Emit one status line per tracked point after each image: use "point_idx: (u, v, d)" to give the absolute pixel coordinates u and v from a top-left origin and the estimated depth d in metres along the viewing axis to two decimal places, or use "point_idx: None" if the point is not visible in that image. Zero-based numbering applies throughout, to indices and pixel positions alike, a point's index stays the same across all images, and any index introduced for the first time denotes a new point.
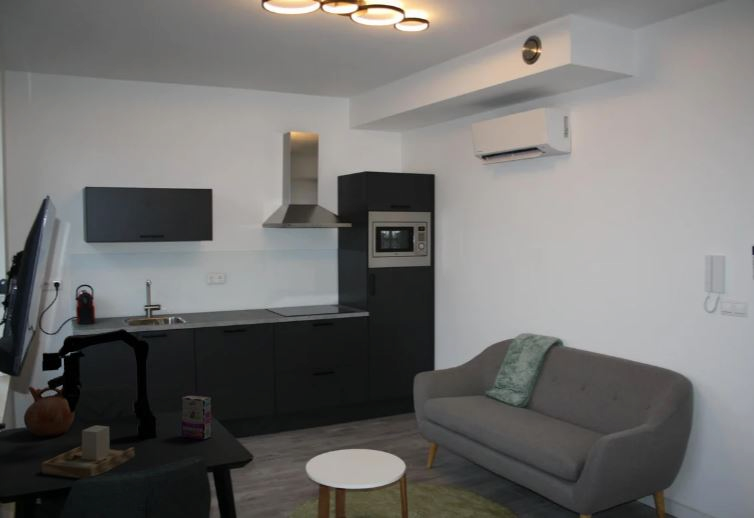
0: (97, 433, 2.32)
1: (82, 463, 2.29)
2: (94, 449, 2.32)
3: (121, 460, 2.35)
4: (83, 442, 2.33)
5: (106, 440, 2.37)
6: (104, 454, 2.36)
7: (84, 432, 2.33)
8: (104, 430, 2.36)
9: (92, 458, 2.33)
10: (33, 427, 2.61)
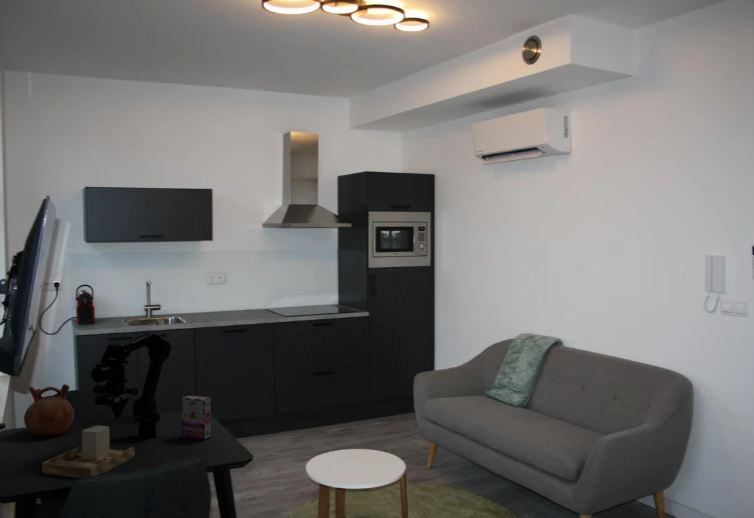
0: (97, 433, 2.32)
1: (82, 463, 2.29)
2: (94, 449, 2.32)
3: (121, 460, 2.35)
4: (83, 442, 2.33)
5: (106, 440, 2.37)
6: (104, 454, 2.36)
7: (84, 432, 2.33)
8: (104, 430, 2.36)
9: (92, 458, 2.33)
10: (33, 427, 2.61)
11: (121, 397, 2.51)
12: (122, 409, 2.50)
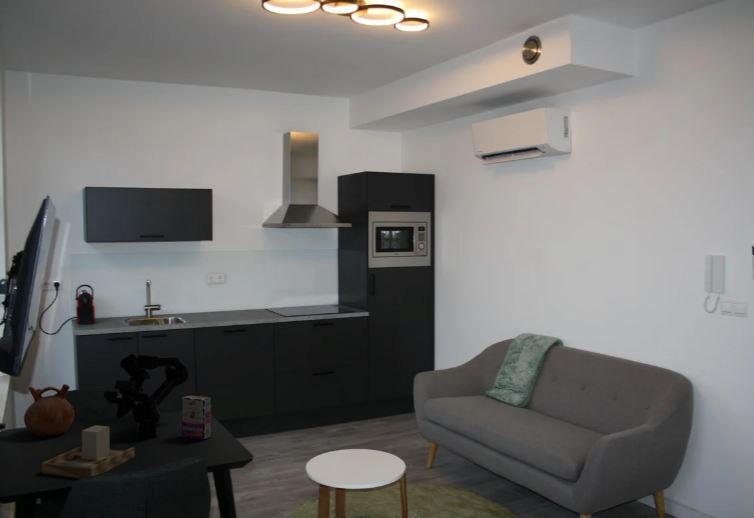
0: (97, 433, 2.32)
1: (82, 463, 2.29)
2: (94, 449, 2.32)
3: (121, 460, 2.35)
4: (83, 442, 2.33)
5: (106, 440, 2.37)
6: (104, 454, 2.36)
7: (84, 432, 2.33)
8: (104, 430, 2.36)
9: (92, 458, 2.33)
10: (33, 427, 2.61)
11: None
12: None
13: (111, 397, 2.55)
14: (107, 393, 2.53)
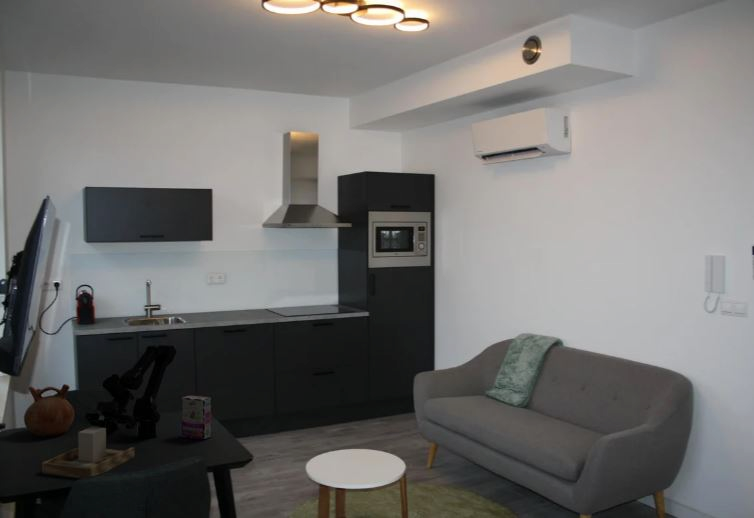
0: (93, 435, 2.31)
1: (82, 463, 2.29)
2: (90, 450, 2.30)
3: (121, 460, 2.35)
4: (79, 444, 2.31)
5: (103, 441, 2.35)
6: (101, 456, 2.34)
7: (80, 434, 2.31)
8: (100, 431, 2.34)
9: (88, 460, 2.31)
10: (33, 427, 2.61)
11: None
12: None
13: (93, 419, 2.45)
14: (88, 415, 2.43)
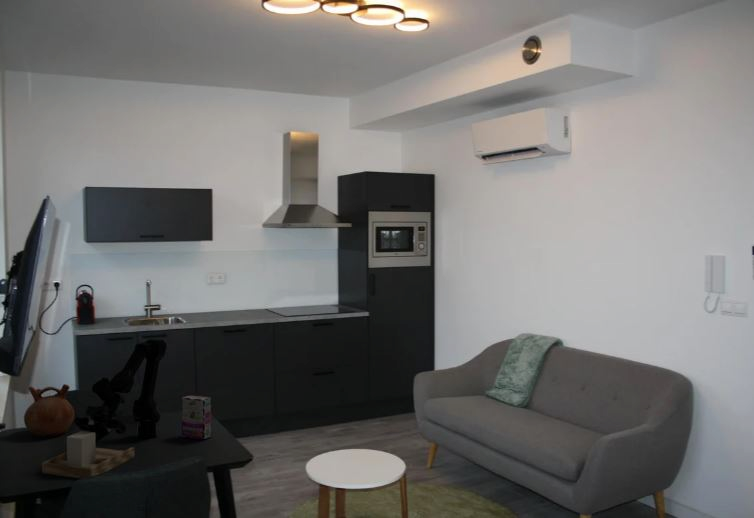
0: (82, 439, 2.25)
1: None
2: (79, 455, 2.25)
3: (121, 460, 2.35)
4: (68, 449, 2.26)
5: (92, 446, 2.30)
6: (90, 461, 2.29)
7: (69, 438, 2.26)
8: (90, 436, 2.29)
9: (77, 465, 2.25)
10: (33, 427, 2.61)
11: None
12: None
13: (82, 423, 2.39)
14: (78, 419, 2.38)
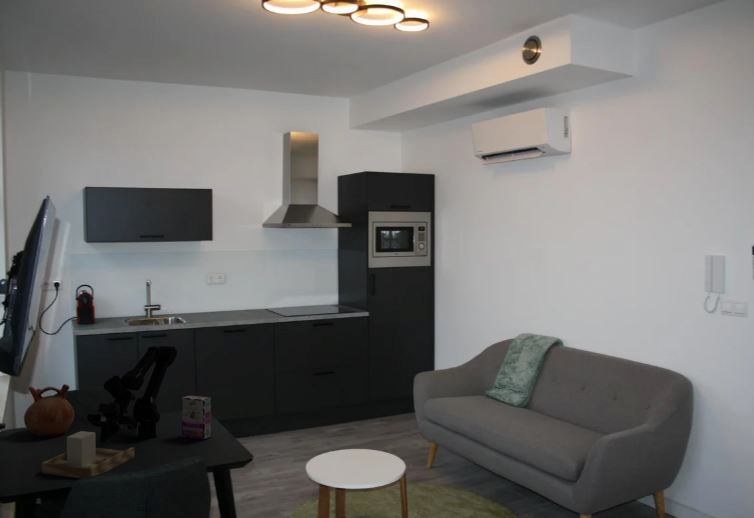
0: (82, 439, 2.25)
1: None
2: (79, 455, 2.25)
3: (121, 460, 2.35)
4: (68, 449, 2.26)
5: (92, 446, 2.30)
6: (90, 461, 2.29)
7: (69, 438, 2.26)
8: (90, 436, 2.29)
9: (77, 465, 2.25)
10: (33, 427, 2.61)
11: None
12: None
13: (94, 420, 2.46)
14: (90, 416, 2.44)
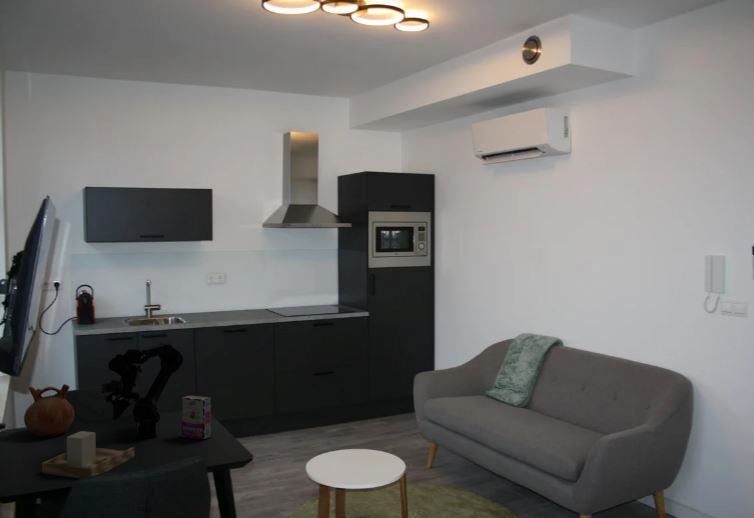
0: (82, 439, 2.25)
1: None
2: (79, 455, 2.25)
3: (121, 460, 2.35)
4: (68, 449, 2.26)
5: (92, 446, 2.30)
6: (90, 461, 2.29)
7: (69, 438, 2.26)
8: (90, 436, 2.29)
9: (77, 465, 2.25)
10: (33, 427, 2.61)
11: None
12: None
13: (112, 399, 2.55)
14: (105, 397, 2.54)
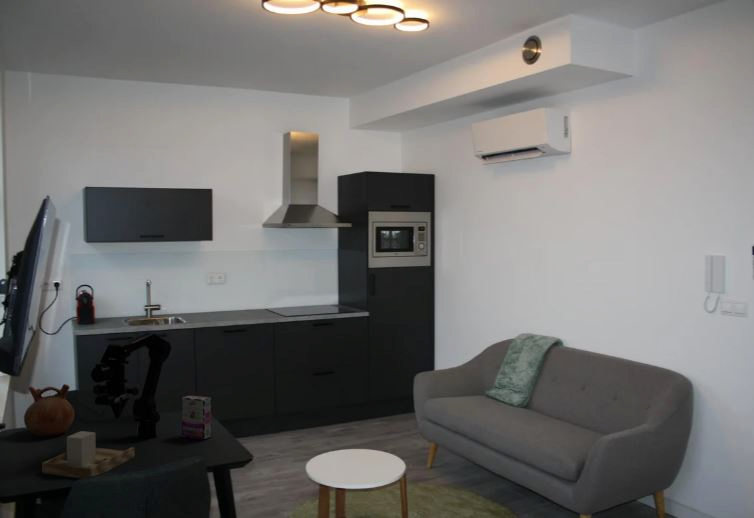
0: (82, 439, 2.25)
1: None
2: (79, 455, 2.25)
3: (121, 460, 2.35)
4: (68, 449, 2.26)
5: (92, 446, 2.30)
6: (90, 461, 2.29)
7: (69, 438, 2.26)
8: (90, 436, 2.29)
9: (77, 465, 2.25)
10: (33, 427, 2.61)
11: (121, 397, 2.50)
12: (122, 409, 2.50)
13: None
14: None
